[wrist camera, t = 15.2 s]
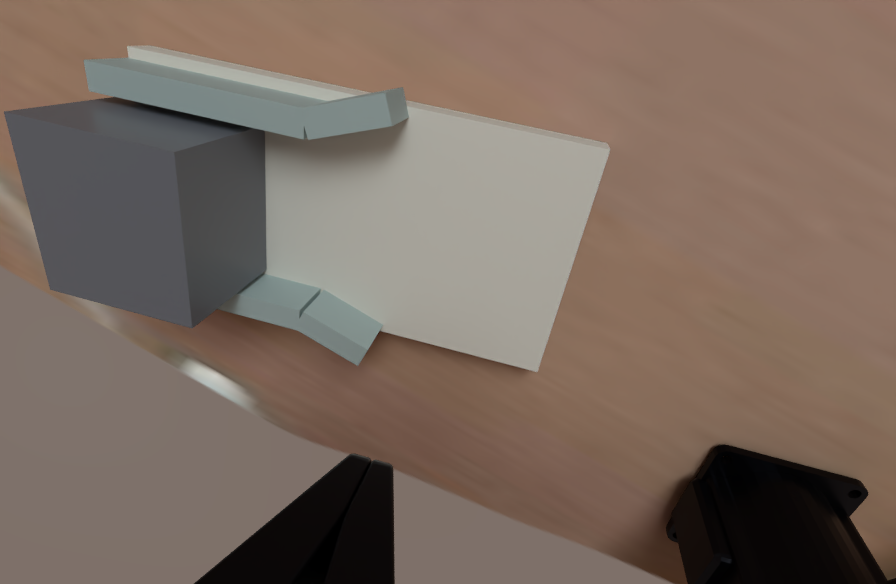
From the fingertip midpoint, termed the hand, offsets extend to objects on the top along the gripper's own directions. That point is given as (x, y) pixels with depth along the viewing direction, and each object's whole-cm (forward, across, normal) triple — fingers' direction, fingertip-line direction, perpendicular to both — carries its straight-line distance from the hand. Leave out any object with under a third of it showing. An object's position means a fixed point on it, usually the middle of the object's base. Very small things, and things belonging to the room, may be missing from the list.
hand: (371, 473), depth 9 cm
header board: (+12, +5, 0) cm, 13 cm away
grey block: (+11, +11, 0) cm, 16 cm away
